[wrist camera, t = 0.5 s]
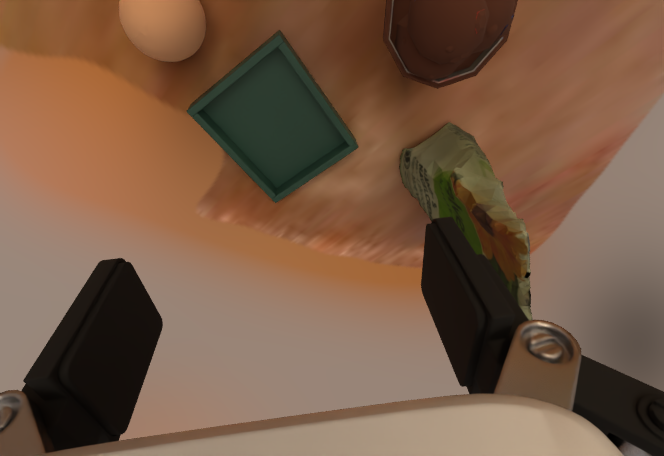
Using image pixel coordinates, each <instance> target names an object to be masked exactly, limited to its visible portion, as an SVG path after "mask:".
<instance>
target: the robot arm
mask: <svg viewBox="0 0 664 456" xmlns="http://www.w3.org/2000/svg"><path fill="white" fill-rule="evenodd" d="M421 288H422V293H423V296H424V298H425V301H426V303H427V306H428V308H429V311H430V313H431V316H432V318H433V320H434V323H435V325H436V328H437V330H438V333H439V335H440V338H441V340H442V343H443V345H444V347H445V350H446V352H447V355H448V357H449V360H450V362H451V364H452V367H453V369H454V372H455V374H456V377H457V379H458V382H459V384H460V385H461V386H466V387H467V389H468V391H469V394H467V395H452V396H443V397H434V398H425V399H417V400H408V401H400V402H392V403H385V404H377V405H370V406H363V407H355V408H348V409H340V410H333V411H326V412H318V413H310V414H304V415H296V416H289V417H282V418H275V419H267V420H261V421H253V422H246V423H239V424H232V425H224V426H217V427H210V428H203V429H197V430H189V431H183V432H176V433H169V434H162V435H155V436H148V437H141V438H134V439H127V440H121V441H119V438H120V435H121V434H123V433H124V432H125V431H126V430H127V427H128V425H129V422H130V419H131V416H132V414H133V411H134V408H135V405H136V402H137V399H138V396H139V393H140V390H141V388H142V385H143V382H144V379H145V376H146V374H147V371H148V368H149V365H150V362H151V359H152V356H153V354H154V351H155V348H156V345H157V342H158V339H159V336H160V333H161V331H162V326H163V324H162V318H161V316H160V314H159V313H158V311H157V309H156V307H155V305H154V303H153V302H152V300H151V298H150V296H149V294H148V293H147V291H146V289H145V287H144V285H143V284H142V282H141V280H140V278H139V277H138V275H137V273H136V271H135V269H134V267H133V266H132V264H131V263H130V262H126V261H125V260H124V259H122V258H118V259H110V260H103V261H100V262H99V263H98V265H97V266H96V268H95V270H94V271H93V273H92V274H91V276H90V277H89V279H88V280H87V282H86V284H85V285H84V287H83V288H82V290H81V291H80V293H79V294H78V296H77V297H76V299H75V301H74V302H73V304H72V305H71V307H70V308H69V310H68V312H67V313H66V315H65V316H64V318H63V320H62V321H61V323H60V324H59V326H58V327H57V329H56V330H55V332H54V334H53V335H52V336H51V338H50V340H49V341H48V343H47V344H46V346H45V347H44V349H43V351H42V352H41V354H40V355H39V357H38V358H37V360H36V362H35V363H34V365H33V366H32V368H31V369H30V371H29V373H28V374H27V376H26V377H25V379H24V382H25V383H26V384H25V386H24V387H23V389H22V391H19V390H8V391H5V392H2V393H0V456H664V392H663V391H661V390H658V389H656V388H654V387H652V386H649V385H647V384H645V383H643V382H640V381H639V380H636V379H634V378H632V377H630V376H627V375H625V374H623V373H621V372H618V371H616V370H614V369H612V368H610V367H607V366H605V365H603V364H601V363H599V362H596V361H594V360H592V359H590V358H587V357H585V356H583V355H581V348H580V346H579V344H578V342H577V340H576V339H575V338H574V337H573V336H572V335H571V333H569V332H568V331H566V330H565V329H564V328H562V327H560V326H558V325H556V324H554V323H552V322H548V321H544V320H528V318H527V317H526V315H525V314H524V312H523V311H522V309H521V308H520V306H519V305H518V303H517V302H516V300H515V299H514V297H513V296H512V294H511V293H510V291H509V290H508V289H507V287H506V286H505V284H504V283H503V281H502V280H501V278H500V277H499V275H498V274H497V272H496V271H495V269H494V268H493V266H492V265H491V263H490V262H489V260H488V259H487V258H486V257H485V256H484V255H483V254H476V253H475V251H474V250H473V248H472V247H471V245H470V244H469V242H468V241H467V239H466V238H465V236H464V234H463V233H462V231H461V230H460V228H459V227H458V225H457V224H456V222H455V221H454V219H453V218H452V217H443V218H435V219H433V220H432V223H431V224H427V226H426V234H425V245H424V257H423V268H422V280H421Z"/></svg>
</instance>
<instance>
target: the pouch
mask: <svg viewBox="0 0 664 456" xmlns="http://www.w3.org/2000/svg"><path fill="white" fill-rule="evenodd" d="M399 168H400V173H401V177H402V181H403V184H404V186H405V187H406V188H408V190H409V191H410V193H411V195H412V196H413V197H415V198H417V199H418V201H419V203H420V206H421V207H422V208H423V209H424V211H425V212H426V213H427V214H428V216H429V218H430V220H431V221H432V220H433V219H435V218H443V217H452V218H453V219H454V221H455V222H456V224H457V225H458V227H459V228H460V230H461V231H462V233H463V234H464V236H465V238H466V239H467V241H468V242H469V244H470V245H471V247H472V248H473V250H474V251H475V253H476V254H483V255H484V256H485V257H486V258H487V259H488V260H489V262H490V263H491V265H492V266H493V268H494V269H495V271H496V272H497V274H498V275H499V277H500V278H501V280H502V281H503V283H504V284H505V286H506V287H507V289H508V290H509V291H510V293H511V294H512V296H513V297H514V299H515V300H516V302H517V303H518V305H519V306H520V308H521V309H522V311H523V312H524V314H525V315H526V317H527V318H528V320H532V315H531V314H532V313H531V309H530V307H531V306H530V304H531V294H530V281H529V276H530V273H531V272H530V253H529V252H530V242H529V235H528V233H527V232H526V227H525V223H524V222H523V219H517V217H516V213H514V212H513V211H512V209H511V208H510V207H509V205H508V204H507V202H506V199H505V196H504V192H503V182H501V181H500V180H498V179H497V178H495V176H494V173H493V170H492V168H491V165H490V163H489V161H488V159H487V158H486V156H485V154H484V153H483V151H482V150H481V149H480V147H479V146H478V144H477V143H476V140H475V138H474V136H472V135H470V134H468V133H467V132H465V131H463V130H461V129H460V128H459V127H457V126H456V125H453V124H452V123H450V122H449V123H447V124H446V125H445V126H444V127H443V128H441V129H440V130H439V131H438V132H437V133H435V134H434V135H433V136H431V137H430V138H428V139H427V140H425V141H424V142H422V143H421V144H419V145H418V146H416V147H414V148H411V149H406V148H405V149H403V150H402V154H401V156H400V166H399Z"/></svg>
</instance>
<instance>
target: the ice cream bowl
mask: <svg viewBox="0 0 664 456" xmlns="http://www.w3.org/2000/svg"><path fill="white" fill-rule="evenodd" d="M517 1H518V0H386V10H385V22H384V33H383V40H384V43H385V44H386V46H387V48H388V50H389V52H390V53H391V55H392V57H393V59H394V61H395V62H396V64H397V66H398V68H399V70H400V71H401V73H402V75H403V77H406V78H409V79H412V80H415V81H417V82H420V83H423V84H426V85H429V86H432V87H434V88H437V89H438V88H441V87H444V86H447V85H450V84H453V83H456V82H458V81H461V80H464V79H467V78H470V77H473V76H476V75H477V74H478V72H479V71H480V70H481V69H482V68H483V67H484V66H485V65H486V64H487V62H488V61H489V60H490V59H491V58H492V57H493V56H494V55H495V53H496V52H497V51H498V50H499V49H500V48H501V47H502V46H503V44H504V43H505V42H506V41H507V38H508V35H509V31H510V27H511V24H512V20H513V17H514V12H515V9H516V5H517Z"/></svg>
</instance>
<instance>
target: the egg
mask: <svg viewBox="0 0 664 456" xmlns="http://www.w3.org/2000/svg"><path fill="white" fill-rule="evenodd" d="M119 16H120V20H121V23H122V26H123V29H124V31H125V33H126V35H127V36H128V38H129V39H130V41H131V42H132V43H133V44H134V45H135V46H136V47H137V48H138V49H139V50H140V51H141V52H143V53H144V54H146V55H147V56H149V57H151V58H153V59H157V60H160V61H166V62H177V61H181V60H184V59H186V58H188V57H190V56H192V55H193V54H194V53H195V52H196V51H197V50H198V49H199V48H200V46H201V44H202V42H203V40H204V38H205V33H206V18H205V14H204V10H203V8H202V6H201V3H200V1H199V0H119Z"/></svg>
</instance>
